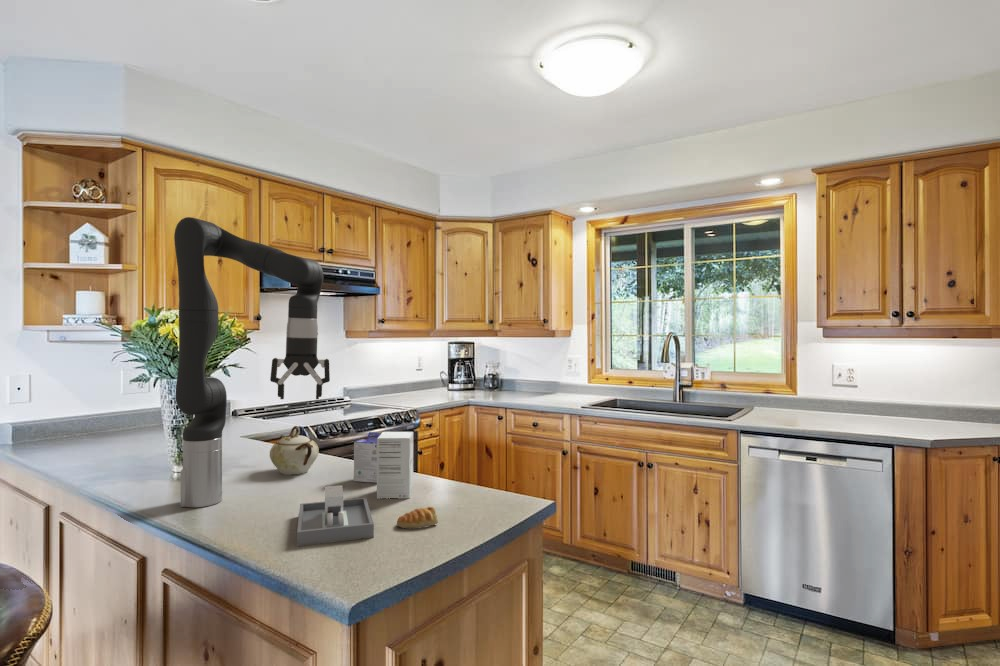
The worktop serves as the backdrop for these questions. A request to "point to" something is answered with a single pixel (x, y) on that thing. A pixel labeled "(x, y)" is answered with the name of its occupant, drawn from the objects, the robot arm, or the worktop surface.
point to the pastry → (418, 518)
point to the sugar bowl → (294, 453)
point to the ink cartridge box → (366, 459)
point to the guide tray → (350, 523)
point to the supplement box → (394, 465)
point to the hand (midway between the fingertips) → (300, 398)
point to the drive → (333, 502)
